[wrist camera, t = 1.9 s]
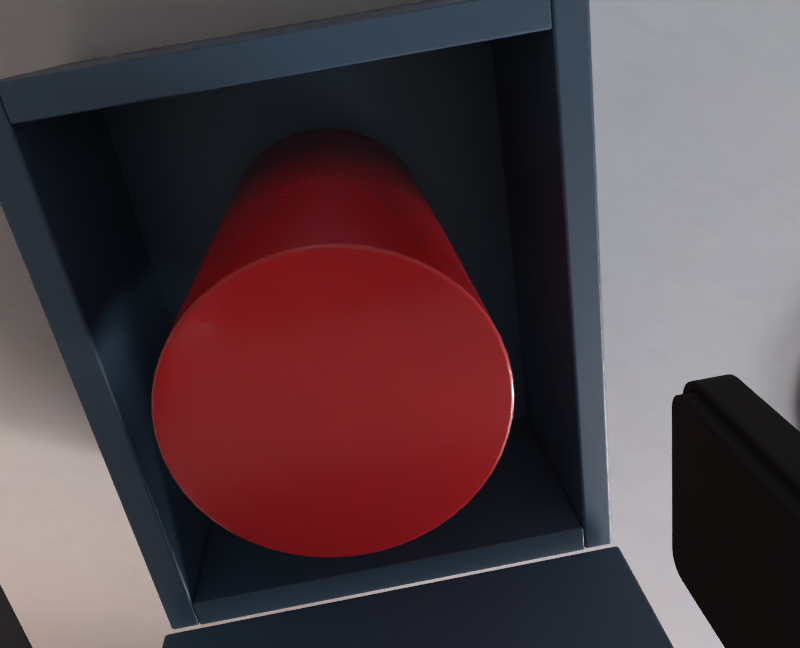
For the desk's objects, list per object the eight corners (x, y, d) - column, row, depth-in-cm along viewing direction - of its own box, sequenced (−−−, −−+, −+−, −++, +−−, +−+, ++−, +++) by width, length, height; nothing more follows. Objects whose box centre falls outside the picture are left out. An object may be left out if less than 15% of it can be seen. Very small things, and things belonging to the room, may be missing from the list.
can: (240, 110, 20) (162, 215, 10) (446, 148, 21) (557, 276, 11) (220, 304, 22) (141, 545, 12) (406, 330, 23) (470, 570, 13)
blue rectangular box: (66, 63, 20) (-48, 90, 14) (507, -14, 20) (589, -21, 14) (207, 482, 26) (171, 631, 20) (544, 417, 26) (612, 544, 20)
